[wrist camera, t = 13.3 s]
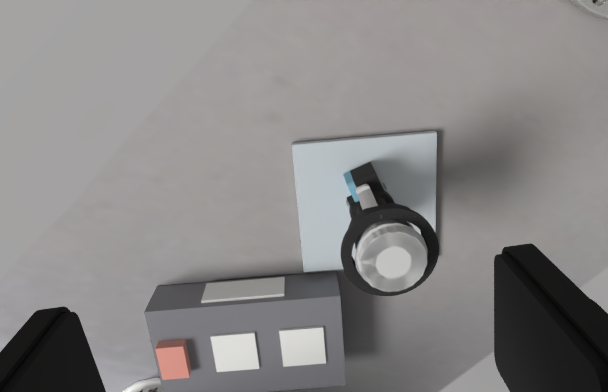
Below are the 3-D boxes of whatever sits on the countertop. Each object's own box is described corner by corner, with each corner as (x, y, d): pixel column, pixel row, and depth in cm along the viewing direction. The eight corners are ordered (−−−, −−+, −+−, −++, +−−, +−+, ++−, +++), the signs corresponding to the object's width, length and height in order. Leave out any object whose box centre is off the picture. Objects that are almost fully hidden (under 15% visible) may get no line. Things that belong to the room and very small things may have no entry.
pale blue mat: (434, 130, 34) (436, 132, 33) (432, 257, 37) (434, 261, 37) (291, 142, 34) (291, 145, 33) (303, 268, 37) (303, 272, 37)
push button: (420, 226, 36) (466, 302, 26) (354, 254, 36) (376, 338, 27) (387, 147, 33) (423, 199, 24) (317, 179, 34) (326, 241, 25)
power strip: (336, 269, 37) (341, 299, 33) (341, 355, 40) (347, 393, 36) (156, 283, 38) (140, 316, 34) (175, 368, 41) (162, 407, 36)
